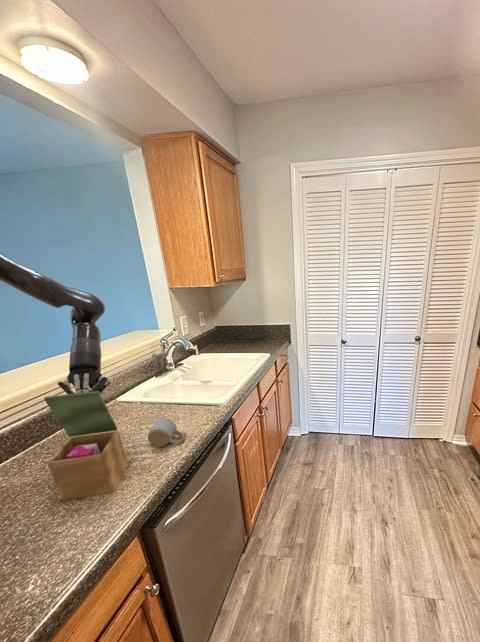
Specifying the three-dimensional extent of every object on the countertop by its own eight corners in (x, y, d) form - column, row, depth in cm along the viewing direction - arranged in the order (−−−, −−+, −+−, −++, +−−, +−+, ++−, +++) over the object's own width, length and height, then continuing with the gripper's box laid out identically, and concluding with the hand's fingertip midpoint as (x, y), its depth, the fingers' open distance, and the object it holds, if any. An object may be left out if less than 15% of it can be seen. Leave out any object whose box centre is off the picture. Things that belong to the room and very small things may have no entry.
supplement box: (88, 479, 93) (76, 444, 88) (110, 477, 93) (98, 442, 89) (78, 492, 88) (64, 456, 83) (100, 489, 88) (88, 454, 84)
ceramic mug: (149, 449, 108) (144, 429, 105) (156, 437, 116) (152, 418, 113) (181, 447, 109) (177, 426, 106) (186, 435, 117) (183, 416, 114)
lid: (98, 392, 84) (98, 390, 84) (43, 399, 81) (44, 396, 82) (117, 430, 93) (117, 428, 94) (69, 437, 91) (69, 434, 92)
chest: (116, 495, 87) (103, 455, 82) (64, 505, 84) (47, 463, 79) (129, 467, 99) (118, 430, 94) (83, 474, 96) (70, 437, 91)
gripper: (53, 352, 89) (47, 410, 83) (105, 347, 92) (104, 403, 86) (67, 365, 96) (63, 419, 90) (115, 360, 99) (114, 413, 93)
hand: (83, 411), depth 88 cm, fingers closed
